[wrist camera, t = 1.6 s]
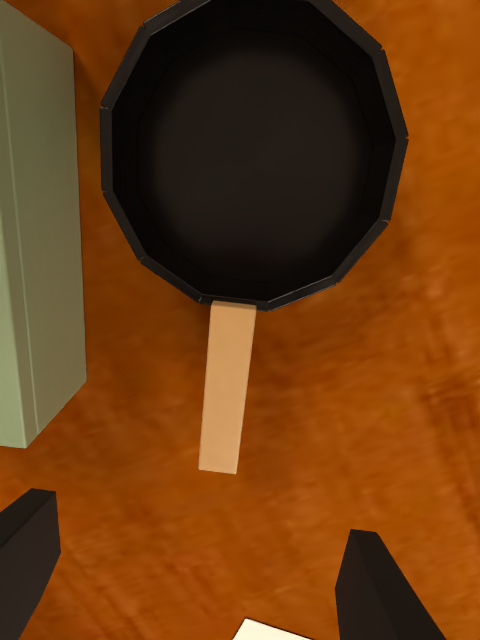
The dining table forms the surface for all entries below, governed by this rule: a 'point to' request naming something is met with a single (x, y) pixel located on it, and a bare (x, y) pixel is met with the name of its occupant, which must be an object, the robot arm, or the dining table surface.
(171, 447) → the dining table surface
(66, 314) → the shelf
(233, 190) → the pan
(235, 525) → the dining table surface
